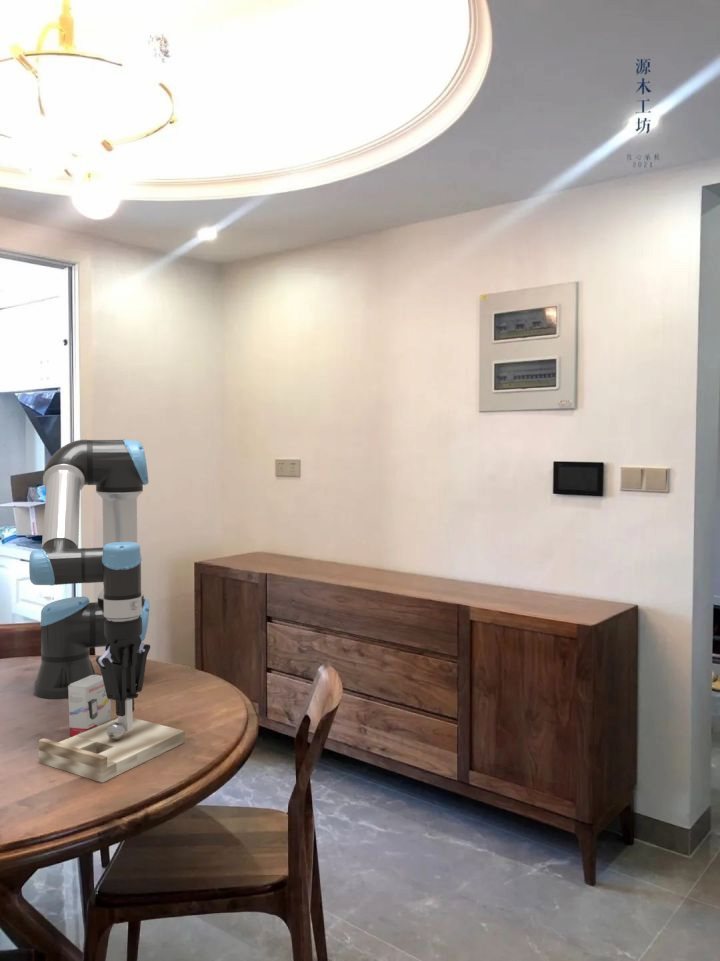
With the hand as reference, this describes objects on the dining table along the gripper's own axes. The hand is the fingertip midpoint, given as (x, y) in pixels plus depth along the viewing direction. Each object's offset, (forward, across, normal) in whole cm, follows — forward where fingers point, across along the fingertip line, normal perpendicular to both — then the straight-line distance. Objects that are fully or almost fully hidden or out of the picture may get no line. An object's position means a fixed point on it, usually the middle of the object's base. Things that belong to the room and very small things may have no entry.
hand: (125, 729), depth 155 cm
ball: (0, -2, 0) cm, 2 cm away
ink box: (+4, +2, +13) cm, 13 cm away
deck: (+4, -3, 0) cm, 5 cm away
